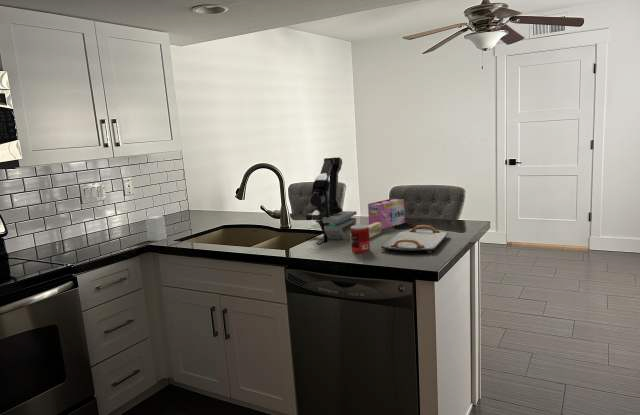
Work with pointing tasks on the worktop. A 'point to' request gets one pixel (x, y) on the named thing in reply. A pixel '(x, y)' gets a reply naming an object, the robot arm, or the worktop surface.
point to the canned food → (360, 238)
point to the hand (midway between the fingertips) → (324, 233)
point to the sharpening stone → (340, 225)
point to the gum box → (387, 212)
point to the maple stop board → (373, 229)
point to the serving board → (416, 240)
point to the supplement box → (156, 228)
